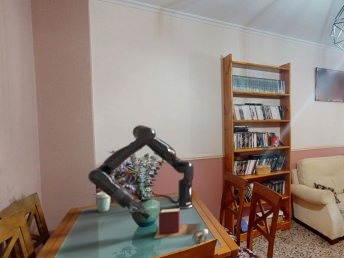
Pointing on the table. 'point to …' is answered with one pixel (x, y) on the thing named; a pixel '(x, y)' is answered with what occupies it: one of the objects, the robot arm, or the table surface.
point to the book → (169, 221)
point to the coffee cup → (103, 201)
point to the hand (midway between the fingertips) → (148, 217)
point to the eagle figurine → (200, 235)
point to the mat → (180, 231)
